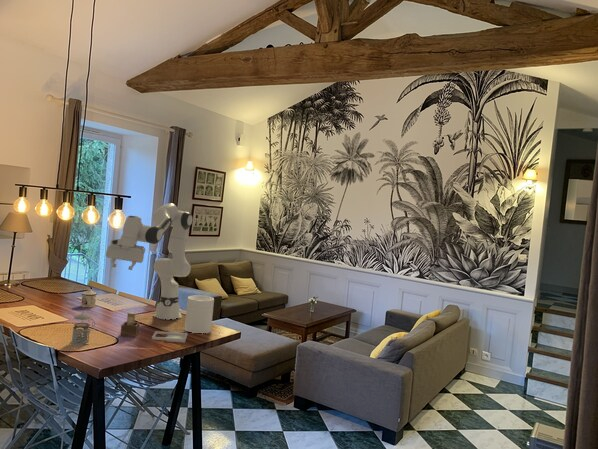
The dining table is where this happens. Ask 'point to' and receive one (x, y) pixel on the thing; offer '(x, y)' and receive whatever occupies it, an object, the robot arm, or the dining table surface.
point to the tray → (171, 336)
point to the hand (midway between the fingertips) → (121, 268)
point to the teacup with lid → (88, 299)
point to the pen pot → (129, 330)
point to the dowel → (131, 319)
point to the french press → (81, 330)
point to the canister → (199, 314)
